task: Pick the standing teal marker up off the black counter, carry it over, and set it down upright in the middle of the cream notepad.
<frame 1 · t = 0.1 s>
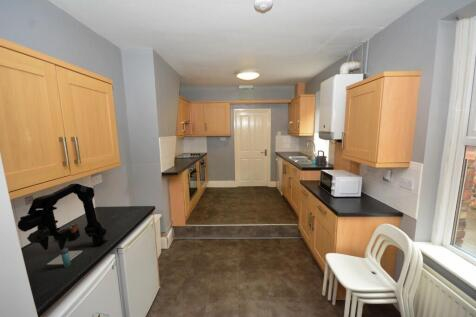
hand: (54, 249, 102), 14 cm above the countertop, fingers open, 9 cm apart
battery: (74, 238, 142), on the countertop
notepad: (65, 257, 119), on the countertop
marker: (67, 265, 111), on the countertop
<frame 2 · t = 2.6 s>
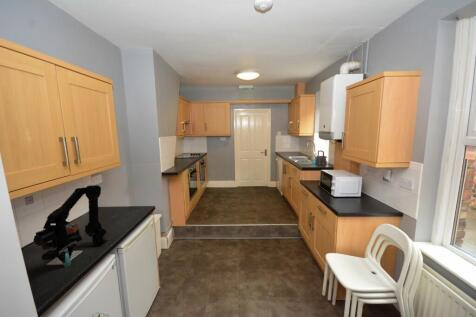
hand: (66, 260, 111), 3 cm above the countertop, fingers closed on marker, 3 cm apart
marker: (67, 265, 111), on the countertop, touching gripper
everything else where it was.
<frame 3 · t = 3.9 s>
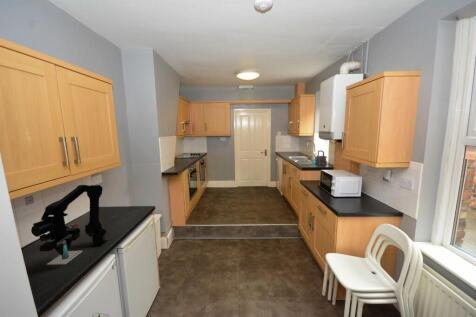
hand: (64, 252, 110), 8 cm above the countertop, fingers closed on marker, 3 cm apart
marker: (65, 257, 111), point 5 cm above the countertop, touching gripper
everything else where it was.
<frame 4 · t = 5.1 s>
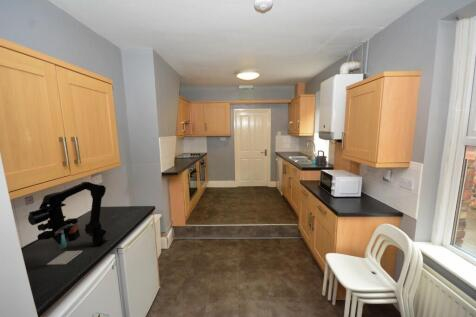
hand: (62, 242, 112), 13 cm above the countertop, fingers closed on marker, 3 cm apart
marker: (63, 247, 112), point 10 cm above the countertop, touching gripper
everything else where it was.
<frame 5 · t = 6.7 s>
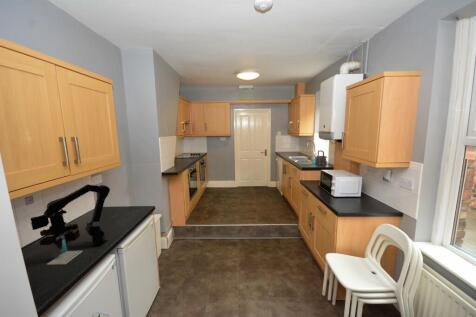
hand: (63, 247, 118), 7 cm above the countertop, fingers closed on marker, 3 cm apart
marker: (64, 251, 118), point 4 cm above the countertop, touching gripper
everything else where it was.
when the fingers open (5 cm above the countertop, at t = 7.8 s): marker drops 1 cm, resting on notepad.
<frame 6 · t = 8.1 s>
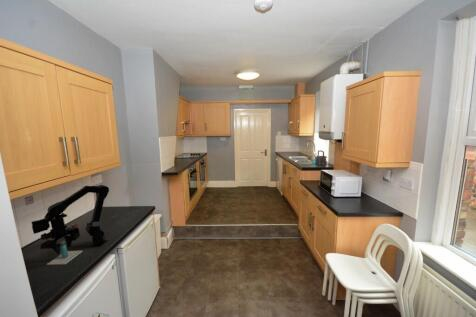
hand: (63, 250, 118), 5 cm above the countertop, fingers open, 6 cm apart
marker: (65, 257, 119), point 1 cm above the countertop, touching notepad
everything else where it was.
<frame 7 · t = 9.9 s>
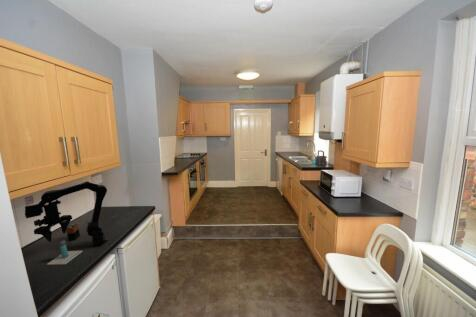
hand: (57, 237, 118), 13 cm above the countertop, fingers open, 9 cm apart
nothing on the countertop moved.
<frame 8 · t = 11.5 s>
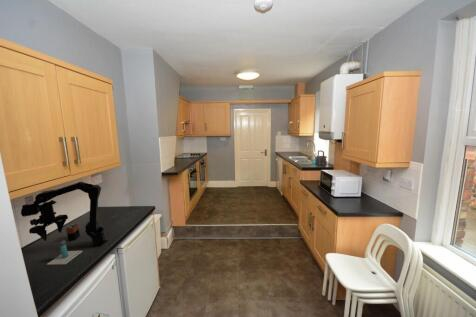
hand: (52, 236, 122), 12 cm above the countertop, fingers open, 9 cm apart
nothing on the countertop moved.
at the end: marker inside the target area on the notepad (0.0 cm from its centre), point 0.6 cm above the notepad's base; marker tilted 0°; the gripper is holding nothing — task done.
